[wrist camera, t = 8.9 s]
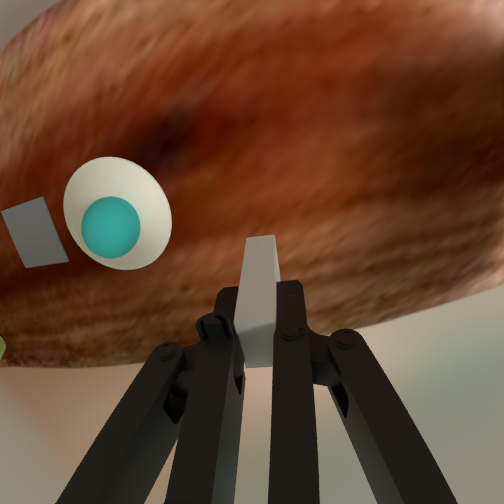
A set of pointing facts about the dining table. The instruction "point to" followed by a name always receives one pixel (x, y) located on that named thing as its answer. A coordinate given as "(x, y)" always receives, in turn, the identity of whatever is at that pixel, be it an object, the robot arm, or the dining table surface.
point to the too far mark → (34, 233)
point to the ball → (110, 227)
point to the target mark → (130, 189)
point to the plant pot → (2, 347)
